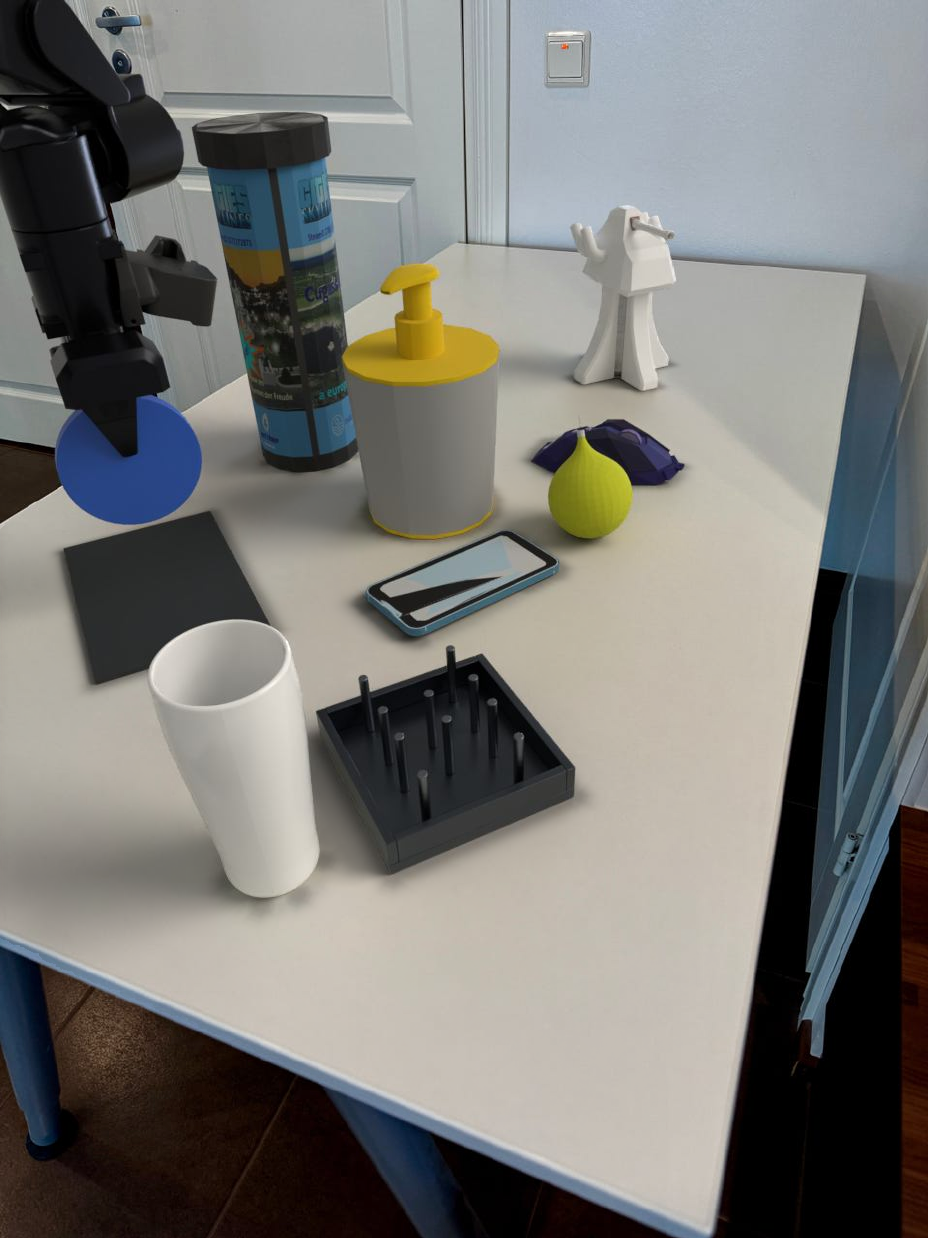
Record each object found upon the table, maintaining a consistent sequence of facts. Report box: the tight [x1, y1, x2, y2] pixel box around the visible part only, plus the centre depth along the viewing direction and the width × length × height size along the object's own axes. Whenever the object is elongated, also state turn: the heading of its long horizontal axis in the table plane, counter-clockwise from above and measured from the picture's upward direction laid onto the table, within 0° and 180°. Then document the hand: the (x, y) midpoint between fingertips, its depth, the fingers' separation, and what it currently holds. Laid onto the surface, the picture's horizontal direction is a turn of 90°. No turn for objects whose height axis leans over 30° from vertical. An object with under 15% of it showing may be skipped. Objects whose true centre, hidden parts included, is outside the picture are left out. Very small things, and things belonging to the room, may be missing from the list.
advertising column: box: [191, 111, 359, 473], centre depth 82 cm, size 11×11×30 cm
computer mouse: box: [531, 418, 686, 486], centre depth 86 cm, size 9×15×4 cm, turn 64°
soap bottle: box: [342, 263, 501, 540], centre depth 75 cm, size 13×13×21 cm
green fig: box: [547, 416, 634, 539], centre depth 74 cm, size 7×7×10 cm
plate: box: [54, 394, 203, 526], centre depth 64 cm, size 1×10×10 cm, turn 116°
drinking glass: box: [146, 620, 321, 899], centre depth 45 cm, size 7×7×15 cm
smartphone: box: [365, 529, 560, 637], centre depth 70 cm, size 7×1×15 cm
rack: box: [315, 644, 576, 875], centre depth 54 cm, size 12×12×5 cm
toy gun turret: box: [570, 204, 677, 392], centre depth 99 cm, size 12×13×18 cm
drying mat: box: [63, 510, 272, 685], centre depth 72 cm, size 13×20×1 cm, turn 26°
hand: (128, 451), depth 64 cm, fingers closed on plate, 1 cm apart
